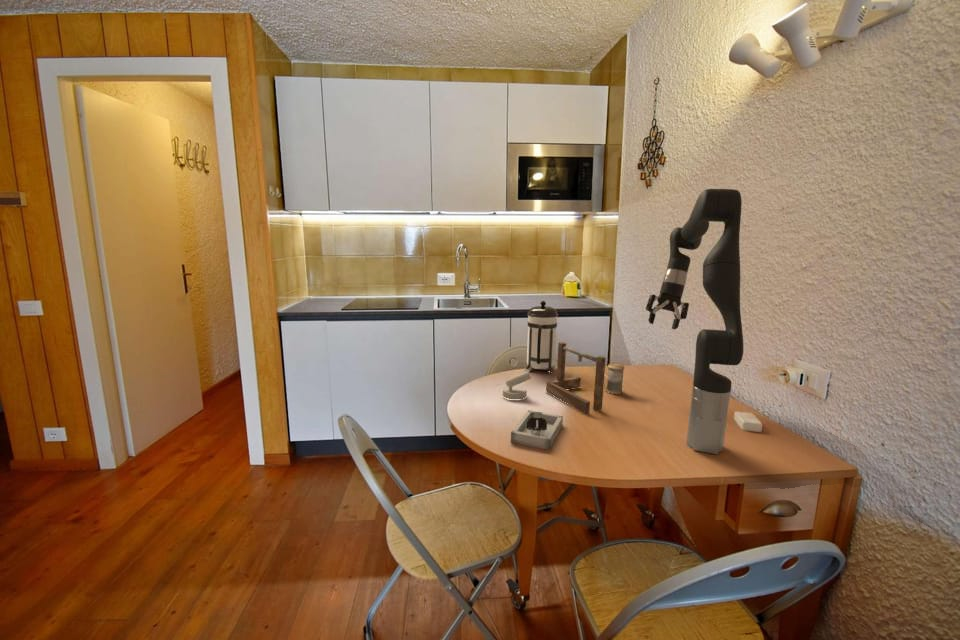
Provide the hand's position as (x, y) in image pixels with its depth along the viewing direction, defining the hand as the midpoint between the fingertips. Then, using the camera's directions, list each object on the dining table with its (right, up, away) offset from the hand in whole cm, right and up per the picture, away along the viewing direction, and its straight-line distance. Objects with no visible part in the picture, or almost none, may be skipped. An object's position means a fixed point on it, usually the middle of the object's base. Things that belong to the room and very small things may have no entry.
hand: (662, 326), depth 160 cm
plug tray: (-50, -31, -30) cm, 66 cm away
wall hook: (-53, -25, -1) cm, 59 cm away
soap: (+17, -31, -22) cm, 42 cm away
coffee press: (-40, -19, +30) cm, 54 cm away
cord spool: (-16, -25, +5) cm, 30 cm away
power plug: (-50, -31, -30) cm, 66 cm away
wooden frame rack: (-30, -26, -3) cm, 40 cm away
